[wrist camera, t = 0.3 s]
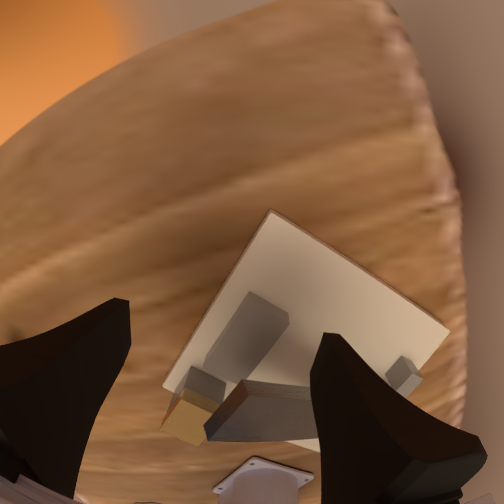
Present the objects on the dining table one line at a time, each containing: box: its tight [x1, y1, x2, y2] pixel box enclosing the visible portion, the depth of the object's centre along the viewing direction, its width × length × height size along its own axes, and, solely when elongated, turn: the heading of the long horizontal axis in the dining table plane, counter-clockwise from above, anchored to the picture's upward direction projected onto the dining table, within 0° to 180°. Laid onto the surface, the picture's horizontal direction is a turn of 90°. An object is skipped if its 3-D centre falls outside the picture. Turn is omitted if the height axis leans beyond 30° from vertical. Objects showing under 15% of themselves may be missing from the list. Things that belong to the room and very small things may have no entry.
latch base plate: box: [162, 209, 450, 452], centre depth 21 cm, size 16×17×4 cm
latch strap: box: [203, 379, 318, 442], centre depth 17 cm, size 15×4×1 cm, turn 59°
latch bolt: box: [160, 387, 221, 447], centre depth 19 cm, size 4×3×1 cm
